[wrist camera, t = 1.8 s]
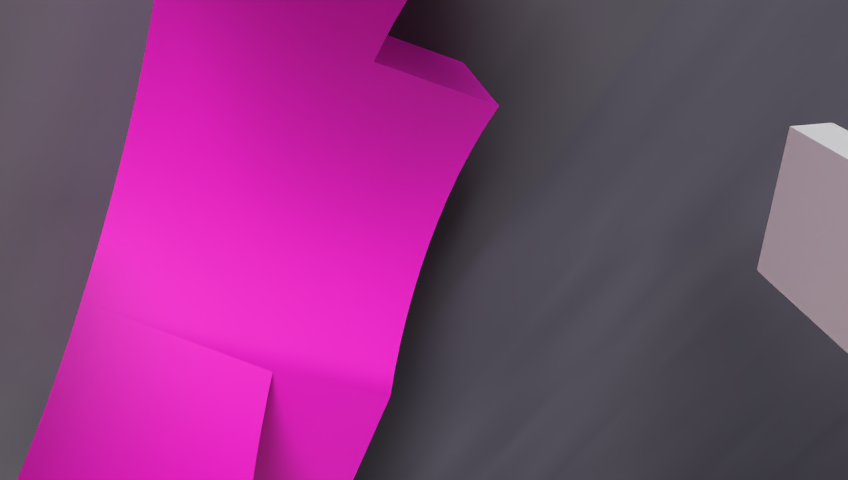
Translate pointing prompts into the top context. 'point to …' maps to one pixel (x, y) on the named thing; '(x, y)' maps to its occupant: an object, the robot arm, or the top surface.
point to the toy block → (259, 245)
